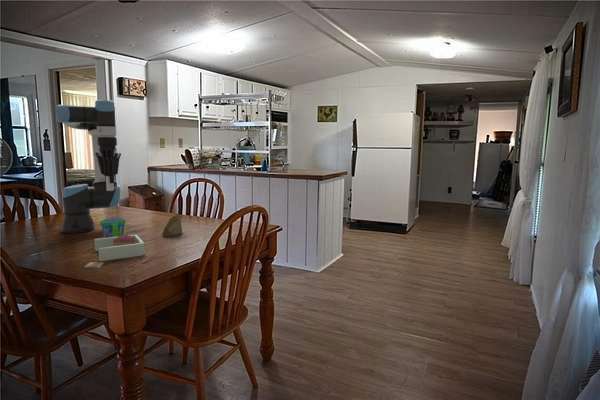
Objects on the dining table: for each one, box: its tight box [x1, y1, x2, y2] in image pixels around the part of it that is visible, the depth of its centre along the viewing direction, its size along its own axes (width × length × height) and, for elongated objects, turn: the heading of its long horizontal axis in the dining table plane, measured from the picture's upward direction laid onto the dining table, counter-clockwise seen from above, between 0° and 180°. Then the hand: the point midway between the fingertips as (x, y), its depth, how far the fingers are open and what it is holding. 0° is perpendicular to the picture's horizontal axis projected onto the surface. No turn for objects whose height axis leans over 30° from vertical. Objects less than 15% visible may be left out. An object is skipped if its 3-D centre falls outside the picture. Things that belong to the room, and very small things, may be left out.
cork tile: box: [84, 261, 105, 269], centre depth 148 cm, size 5×5×1 cm
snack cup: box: [99, 217, 127, 238], centre depth 182 cm, size 16×10×10 cm
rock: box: [161, 214, 183, 237], centre depth 197 cm, size 11×9×10 cm
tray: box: [93, 234, 146, 262], centre depth 165 cm, size 17×17×5 cm
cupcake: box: [113, 222, 135, 246], centre depth 166 cm, size 9×8×12 cm
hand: (110, 190), depth 175 cm, fingers closed
